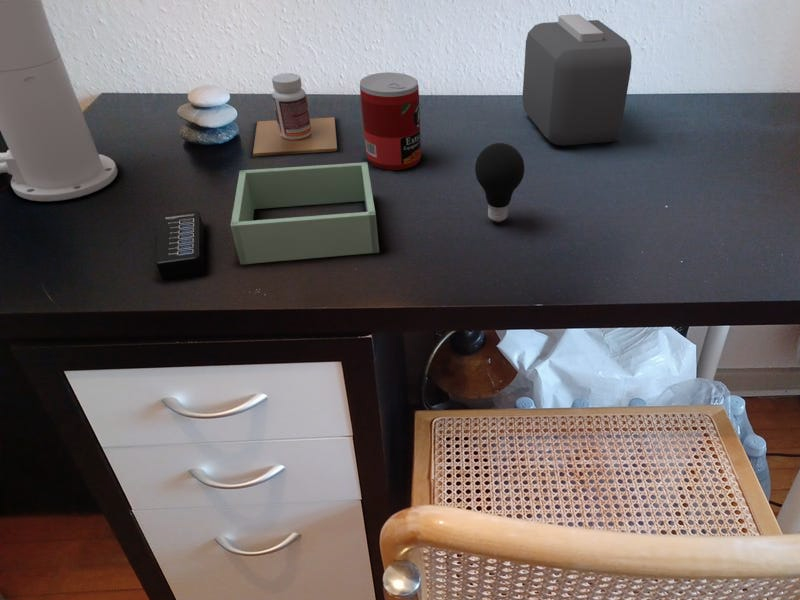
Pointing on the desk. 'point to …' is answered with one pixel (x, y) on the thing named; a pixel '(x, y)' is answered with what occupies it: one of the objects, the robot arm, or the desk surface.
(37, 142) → the robot arm
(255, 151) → the coaster
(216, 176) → the desk surface
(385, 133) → the canned food
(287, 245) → the open box
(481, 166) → the light bulb
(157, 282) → the desk surface
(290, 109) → the pill bottle
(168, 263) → the multiport hub
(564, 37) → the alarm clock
